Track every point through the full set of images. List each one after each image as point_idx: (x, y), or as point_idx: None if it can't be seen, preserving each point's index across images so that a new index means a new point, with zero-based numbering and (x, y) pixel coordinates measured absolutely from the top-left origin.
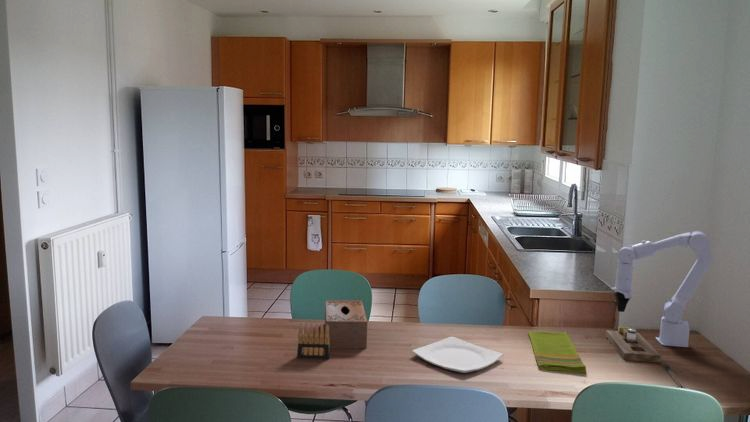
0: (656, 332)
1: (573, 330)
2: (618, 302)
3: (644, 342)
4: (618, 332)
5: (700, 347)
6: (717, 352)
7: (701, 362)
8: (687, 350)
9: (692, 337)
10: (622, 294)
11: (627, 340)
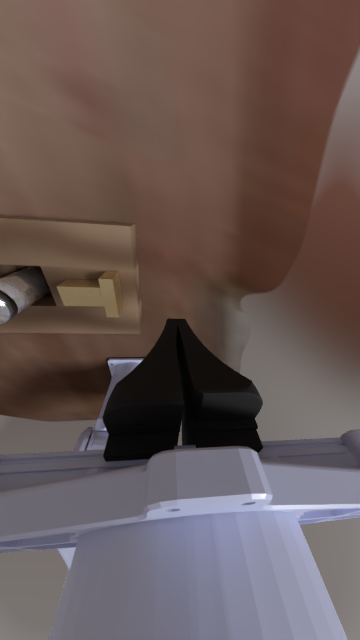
0: None
1: (188, 23)
2: (150, 351)
3: (41, 324)
4: (111, 271)
5: None
6: None
7: (34, 388)
8: (99, 386)
9: None
10: (103, 450)
11: (10, 274)
